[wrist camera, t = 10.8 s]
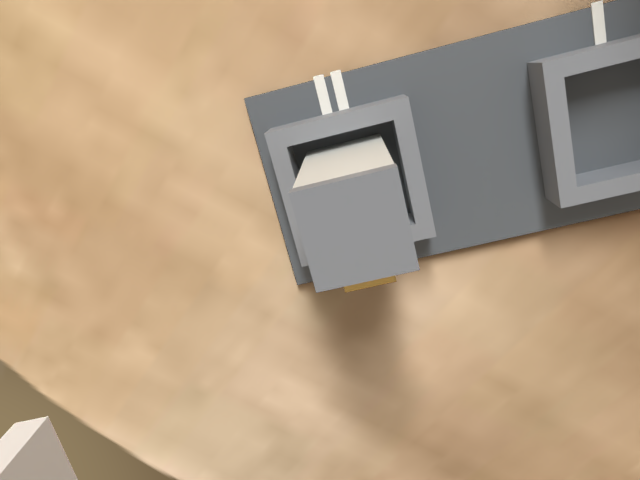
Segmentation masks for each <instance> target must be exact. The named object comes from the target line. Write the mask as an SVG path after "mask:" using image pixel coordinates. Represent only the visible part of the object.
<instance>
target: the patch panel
mask: <svg viewBox="0 0 640 480" xmlns="http://www.w3.org/2000/svg"><path fill="white" fill-rule="evenodd" d="M590 4H591V7H589V8H585V9H581V10H578V11H574V12H570V13H566V14H563V15H559V16H555V17H551V18H547V19H544V20H540V21H536V22H532V23H528V24H525V25H521V26H517V27H513V28H510V29H506V30H502V31H498V32H494V33H491V34H487V35H483V36H479V37H475V38H472V39H468V40H464V41H460V42H457V43H453V44H449V45H445V46H441V47H438V48H434V49H430V50H426V51H423V52H419V53H415V54H411V55H407V56H404V57H400V58H396V59H392V60H388V61H385V62H381V63H377V64H373V65H370V66H366V67H362V68H358V69H354V70H351V71H347V72H343V73H341V70H337V71H333V72H330V74H331V76H328V77H324V75H323V74H322V75H318V76H314V77H313V79H314V80H313V81H309V82H305V83H301V84H298V85H294V86H290V87H286V88H282V89H279V90H275V91H271V92H267V93H264V94H260V95H256V96H252V97H248V98H245V99H244V100H245V103H246V107H247V110H248V114H249V117H250V121H251V124H252V128H253V131H254V135H255V138H256V142H257V145H258V149H259V152H260V156H261V159H262V163H263V166H264V170H265V173H266V177H267V180H268V184H269V187H270V191H271V194H272V198H273V201H274V205H275V208H276V212H277V215H278V219H279V222H280V226H281V229H282V233H283V236H284V240H285V243H286V247H287V250H288V254H289V257H290V261H291V264H292V268H293V271H294V275H295V278H296V282H297V285H300V284H304V283H309V282H313V280H312V276H311V272H310V269H309V265H308V262H307V258H306V254H305V251H304V247H303V244H302V240H301V236H300V233H299V229H298V226H297V222H296V218H295V215H294V211H293V208H292V204H291V200H290V197H289V191H290V189H292V188H293V186H294V183H295V181H296V178H297V176H298V173H299V171H300V168H301V166H302V163H303V161H304V158H305V156H306V153H307V152H308V151H312V150H316V149H320V148H324V147H328V146H332V145H336V144H340V143H344V142H348V141H352V140H356V139H360V138H364V137H368V136H372V135H376V134H380V135H381V137H382V139H383V142H384V144H385V146H386V148H387V150H388V152H389V154H390V156H391V158H392V160H393V162H394V164H395V163H396V165H397V167H398V171H399V176H400V180H401V185H402V189H403V194H404V199H405V203H406V208H407V213H408V217H409V222H410V227H411V231H412V236H413V241H414V245H415V250H416V255H417V258H421V257H426V256H430V255H435V254H439V253H444V252H448V251H453V250H457V249H462V248H466V247H471V246H475V245H480V244H484V243H489V242H493V241H498V240H502V239H507V238H512V237H516V236H521V235H525V234H530V233H534V232H539V231H543V230H548V229H552V228H557V227H561V226H566V225H570V224H575V223H579V222H584V221H588V220H593V219H597V218H602V217H606V216H611V215H615V214H620V213H624V212H629V211H633V210H638V209H640V0H615V1H612V2H608V3H604V4H603V0H601V1H597V2H594V3H590Z"/></svg>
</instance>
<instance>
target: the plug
mask: <svg viewBox="0 0 640 480" xmlns="http://www.w3.org/2000/svg"><path fill="white" fill-rule="evenodd" d="M289 197H290V200H291V204H292V208H293V211H294V215H295V218H296V222H297V226H298V229H299V233H300V236H301V240H302V244H303V247H304V251H305V254H306V258H307V262H308V265H309V269H310V272H311V276H312V280H313V283H314V287H315V290H316V293H318V292H322V291H327V290H331V289H336V288H340V287H344V290H345V293H346V292H351V291H355V290H360V289H364V288H369V287H373V286H378V285H383V284H387V283H392V282H396V277H395V275H399V274H404V273H409V272H413V271H418V270H420V268H419V264H418V259H417V255H416V250H415V245H414V241H413V236H412V231H411V227H410V222H409V217H408V213H407V208H406V203H405V199H404V194H403V189H402V185H401V180H400V176H399V171H398V167H397V165H396V163H395V164H394V162H393V160H392V158H391V156H390V154H389V152H388V150H387V148H386V146H385V144H384V142H383V139H382V137H381V135H380V134H376V135H372V136H368V137H364V138H360V139H356V140H352V141H348V142H344V143H340V144H336V145H332V146H328V147H324V148H320V149H316V150H312V151H308V152H307V153H306V156H305V158H304V161H303V163H302V166H301V168H300V171H299V173H298V176H297V178H296V181H295V183H294V186H293V188H292V189H290V191H289Z"/></svg>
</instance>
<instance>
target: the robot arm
mask: <svg viewBox="0 0 640 480" xmlns="http://www.w3.org/2000/svg"><path fill="white" fill-rule="evenodd" d="M0 480H78V479H77V477H76V475H75V473H74V471H73V468H72V466H71V464H70V462H69V460H68V458H67V456H66V453H65V451H64V449H63V447H62V445H61V443H60V441H59V438H58V436H57V434H56V432H55V430H54V428H53V426H52V423H51V421H50V419H49V417H43V418H37V419H33V420H28V421H23V422H18V423H14V425H13V426H12V427H11V428H10V429H9V430H8V431H7V432H6V433H5V434H4V436H3V437H2V438H1V439H0Z"/></svg>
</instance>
